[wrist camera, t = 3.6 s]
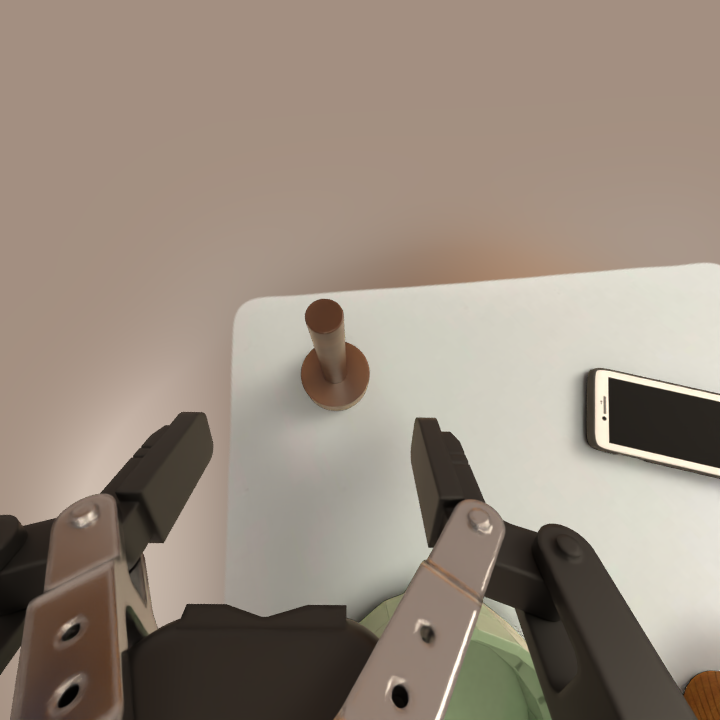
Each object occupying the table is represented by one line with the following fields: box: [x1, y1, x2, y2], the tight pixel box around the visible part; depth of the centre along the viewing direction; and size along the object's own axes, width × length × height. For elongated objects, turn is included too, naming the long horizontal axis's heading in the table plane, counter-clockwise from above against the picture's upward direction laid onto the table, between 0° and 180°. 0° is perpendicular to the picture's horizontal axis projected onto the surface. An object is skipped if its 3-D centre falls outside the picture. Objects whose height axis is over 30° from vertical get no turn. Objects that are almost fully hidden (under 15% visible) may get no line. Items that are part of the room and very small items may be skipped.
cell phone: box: [587, 368, 720, 479], centre depth 28 cm, size 8×15×1 cm, turn 77°
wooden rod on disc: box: [301, 299, 370, 411], centre depth 22 cm, size 6×6×14 cm
